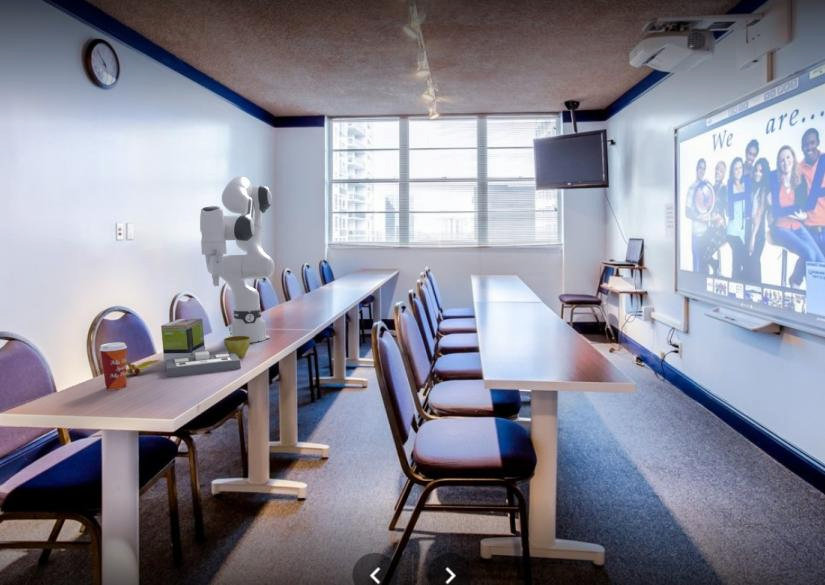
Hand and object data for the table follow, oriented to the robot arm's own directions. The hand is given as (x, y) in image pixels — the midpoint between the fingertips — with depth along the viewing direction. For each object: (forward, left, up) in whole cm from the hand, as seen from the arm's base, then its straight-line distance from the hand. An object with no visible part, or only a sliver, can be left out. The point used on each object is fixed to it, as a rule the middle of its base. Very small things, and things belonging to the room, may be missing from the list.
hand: (216, 285), depth 201 cm
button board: (+11, -7, -29) cm, 32 cm away
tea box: (-9, -12, -29) cm, 33 cm away
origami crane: (+9, -30, -29) cm, 42 cm away
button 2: (+9, 0, -28) cm, 30 cm away
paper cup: (+24, -34, -29) cm, 51 cm away
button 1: (+9, -14, -28) cm, 33 cm away
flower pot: (-2, +7, -29) cm, 30 cm away
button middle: (+9, -7, -27) cm, 29 cm away
